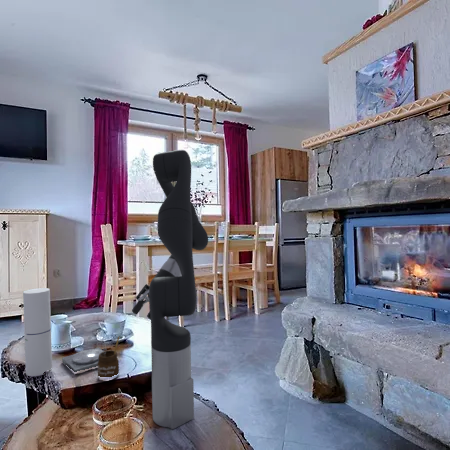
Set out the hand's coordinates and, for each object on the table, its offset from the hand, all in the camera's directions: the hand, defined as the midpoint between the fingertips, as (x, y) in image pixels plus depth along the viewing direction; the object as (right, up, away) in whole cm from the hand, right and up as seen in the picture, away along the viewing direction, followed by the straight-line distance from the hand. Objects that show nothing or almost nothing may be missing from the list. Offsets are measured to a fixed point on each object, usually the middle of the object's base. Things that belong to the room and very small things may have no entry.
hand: (141, 315), depth 107 cm
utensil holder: (-8, -16, -8) cm, 20 cm away
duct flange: (-18, -16, +2) cm, 24 cm away
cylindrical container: (-31, -16, -3) cm, 35 cm away
